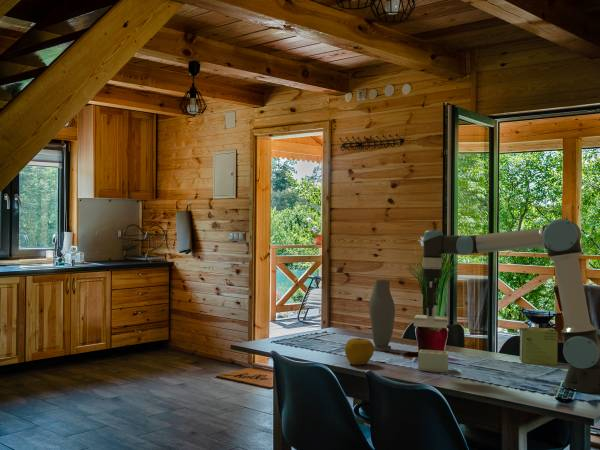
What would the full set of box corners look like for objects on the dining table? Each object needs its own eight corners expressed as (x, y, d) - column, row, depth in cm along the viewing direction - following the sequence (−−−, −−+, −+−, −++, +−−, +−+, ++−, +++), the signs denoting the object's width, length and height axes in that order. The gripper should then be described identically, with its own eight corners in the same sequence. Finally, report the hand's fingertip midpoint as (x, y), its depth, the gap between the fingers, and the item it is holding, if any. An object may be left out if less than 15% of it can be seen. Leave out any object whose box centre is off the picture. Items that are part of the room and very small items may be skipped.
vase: (394, 352, 315) (395, 280, 316) (367, 350, 317) (369, 280, 318) (394, 348, 328) (395, 279, 329) (369, 347, 330) (370, 279, 331)
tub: (448, 368, 275) (448, 351, 276) (447, 372, 268) (447, 354, 268) (419, 366, 279) (420, 349, 279) (418, 370, 271) (418, 352, 271)
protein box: (557, 365, 290) (558, 331, 290) (522, 363, 293) (522, 329, 293) (553, 361, 300) (553, 328, 300) (519, 359, 303) (519, 326, 303)
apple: (375, 362, 286) (376, 337, 286) (371, 368, 273) (371, 341, 274) (347, 360, 289) (348, 335, 289) (341, 365, 277) (342, 339, 277)
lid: (448, 325, 263) (448, 314, 263) (446, 328, 253) (447, 317, 253) (416, 323, 266) (416, 312, 266) (413, 326, 256) (413, 315, 256)
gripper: (439, 269, 248) (438, 326, 247) (443, 267, 270) (442, 320, 270) (420, 268, 250) (419, 325, 249) (425, 267, 272) (424, 319, 272)
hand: (431, 322), depth 259 cm, fingers closed on lid, 10 cm apart
